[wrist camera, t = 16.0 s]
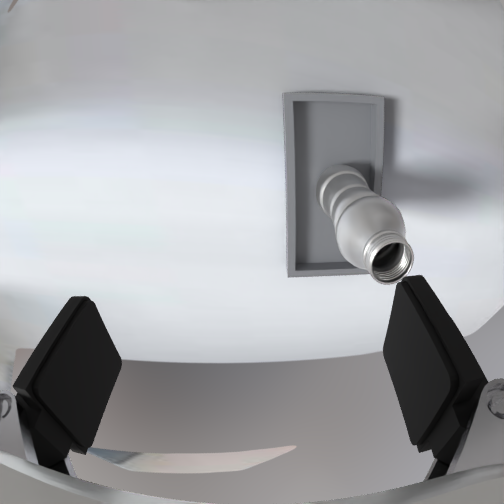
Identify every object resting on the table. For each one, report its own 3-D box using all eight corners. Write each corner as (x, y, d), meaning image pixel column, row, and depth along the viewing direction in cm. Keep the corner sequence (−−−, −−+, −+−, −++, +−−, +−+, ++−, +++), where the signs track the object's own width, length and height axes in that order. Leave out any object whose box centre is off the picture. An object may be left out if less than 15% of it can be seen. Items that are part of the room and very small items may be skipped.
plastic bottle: (366, 166, 38) (442, 228, 20) (354, 215, 41) (411, 304, 23) (318, 156, 38) (366, 211, 20) (308, 206, 41) (339, 296, 23)
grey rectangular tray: (282, 93, 35) (283, 92, 32) (377, 96, 34) (384, 96, 32) (286, 267, 46) (287, 277, 43) (366, 264, 45) (371, 273, 43)
